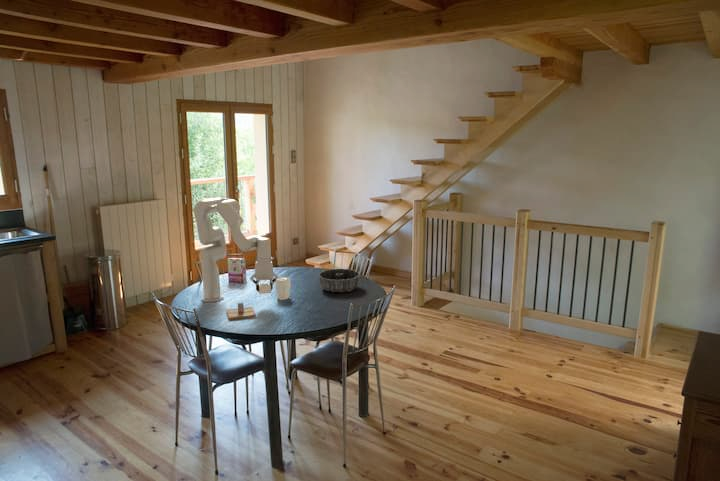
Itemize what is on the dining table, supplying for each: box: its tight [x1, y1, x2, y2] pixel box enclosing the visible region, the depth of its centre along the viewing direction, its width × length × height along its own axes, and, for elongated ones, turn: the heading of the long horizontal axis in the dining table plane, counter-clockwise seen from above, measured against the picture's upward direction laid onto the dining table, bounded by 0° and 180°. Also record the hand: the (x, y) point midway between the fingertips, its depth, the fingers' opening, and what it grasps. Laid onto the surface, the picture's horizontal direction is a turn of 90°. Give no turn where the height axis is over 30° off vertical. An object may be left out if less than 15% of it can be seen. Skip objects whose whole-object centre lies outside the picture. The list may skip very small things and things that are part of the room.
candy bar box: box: [227, 257, 247, 284], centre depth 332 cm, size 11×5×16 cm, turn 73°
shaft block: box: [226, 301, 257, 321], centre depth 269 cm, size 14×14×6 cm
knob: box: [258, 282, 272, 295], centre depth 281 cm, size 8×6×4 cm
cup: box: [274, 276, 291, 301], centre depth 297 cm, size 9×9×12 cm
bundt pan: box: [317, 268, 361, 293], centre depth 315 cm, size 26×26×10 cm
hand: (264, 290), depth 281 cm, fingers closed on knob, 6 cm apart
